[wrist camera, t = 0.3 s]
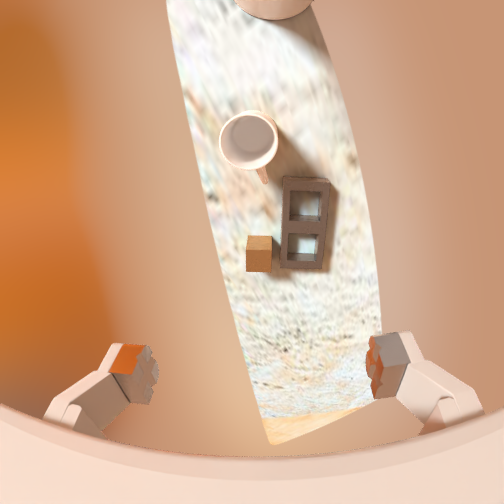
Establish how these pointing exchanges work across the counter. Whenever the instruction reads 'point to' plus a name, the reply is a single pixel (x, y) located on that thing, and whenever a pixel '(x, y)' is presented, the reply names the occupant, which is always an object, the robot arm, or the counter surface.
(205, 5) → the counter surface
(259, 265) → the wooden toy block
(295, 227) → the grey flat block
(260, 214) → the counter surface
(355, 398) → the counter surface
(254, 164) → the mug
